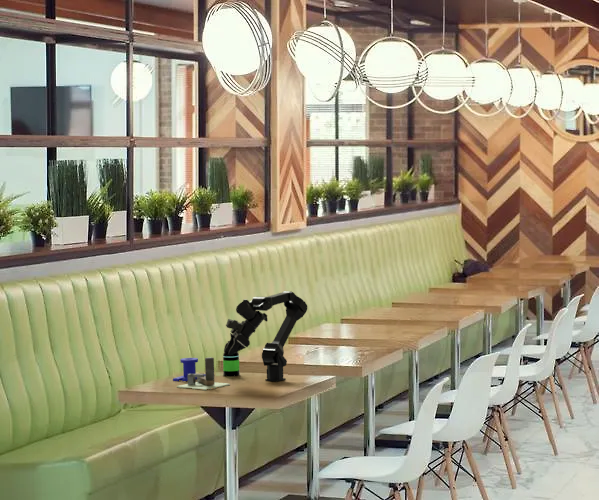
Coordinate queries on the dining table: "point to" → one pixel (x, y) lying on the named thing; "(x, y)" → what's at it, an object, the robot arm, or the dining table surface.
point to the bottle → (230, 363)
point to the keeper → (193, 378)
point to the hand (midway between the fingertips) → (227, 353)
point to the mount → (187, 368)
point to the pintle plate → (203, 385)
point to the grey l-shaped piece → (208, 372)
